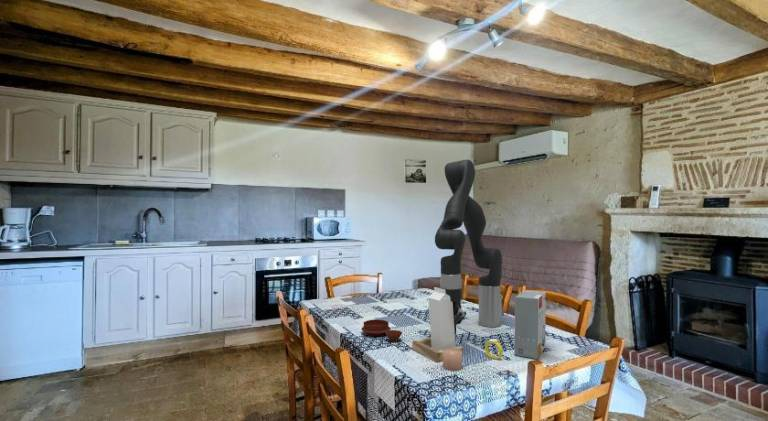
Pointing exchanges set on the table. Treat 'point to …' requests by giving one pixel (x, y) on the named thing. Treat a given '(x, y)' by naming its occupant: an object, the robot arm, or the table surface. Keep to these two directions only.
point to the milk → (441, 320)
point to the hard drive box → (530, 323)
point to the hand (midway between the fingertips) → (452, 335)
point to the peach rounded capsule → (452, 359)
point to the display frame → (429, 349)
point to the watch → (497, 346)
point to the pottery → (381, 329)
